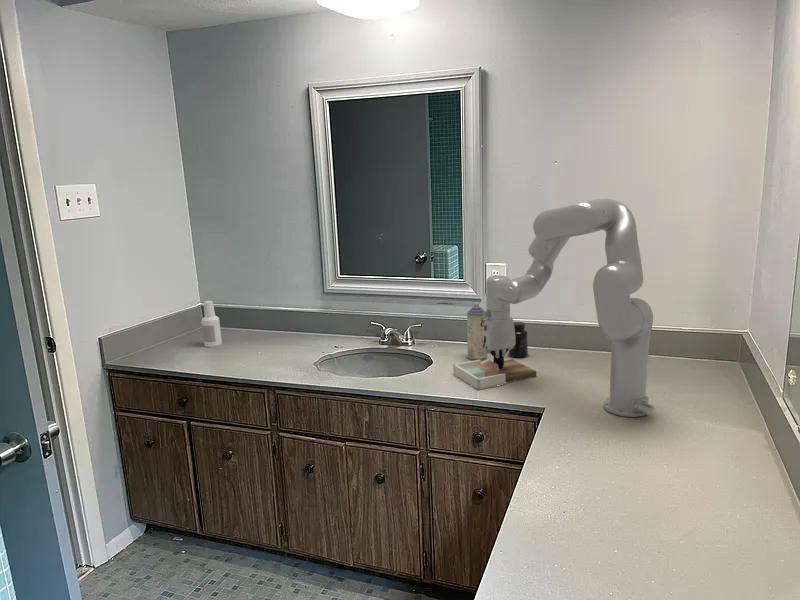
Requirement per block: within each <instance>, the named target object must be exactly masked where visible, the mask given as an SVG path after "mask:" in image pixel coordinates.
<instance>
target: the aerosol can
mask: <svg viewBox="0 0 800 600" xmlns="http://www.w3.org/2000/svg"><path fill="white" fill-rule="evenodd" d="M473 304H474V305H473V306H472V308H470V310H469V311H467V313H466V326H467V327H466V331H467V332H466V334H467V338H466V339H467V340H466V341H467V359H468V360H469V361H475V360H481V361H486V360H487V359H488V357H487V356H488V354H486V353H484V352H483V351H484V347H483V328H484V322H485V319H486V318H487V317H484V315H483V313H485V312H486V310H484V309H483V308H482V307H481V306H480V303H478V302H477V303H473Z"/></svg>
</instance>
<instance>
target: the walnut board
mask: <svg viewBox="0 0 800 600" xmlns="http://www.w3.org/2000/svg"><path fill="white" fill-rule="evenodd" d="M499 371H500V372H499V373H498V374H503V373H505V382H508V383H511V382H510V381H513V382H515V381H514V380H518V381H521V380H520V379H523V380H526V379H525V378H528V379H531V378H530V377H532V378H536V377H537V371H536V370H534V369H532V368H531V367H529V366H527V365H525V364H523V363H521V362H519V361H517V360H515V359H514V358H512V359H507V360H504V365H503V369H500V370H499ZM498 374H496V375H498Z"/></svg>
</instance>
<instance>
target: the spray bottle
mask: <svg viewBox="0 0 800 600" xmlns="http://www.w3.org/2000/svg"><path fill="white" fill-rule="evenodd" d="M203 311H204V313H203V314H204V317H202V319H201V328H202V337H203V345H204V347H207V348H214V347H215V348H216V347H219V346H221V345H222V343H223V342H222V341H223V340H222V332H221V324H220V323H221V321H220V317H219V316H217V315H216V313H215V312H216V311H215V305H214V303H213V301H212V300H206V301H204V302H203Z"/></svg>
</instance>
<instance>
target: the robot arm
mask: <svg viewBox="0 0 800 600" xmlns="http://www.w3.org/2000/svg"><path fill="white" fill-rule="evenodd" d="M636 223H637V222H636V219H635V217H634V214H633V213H632V210H631V209H630V208H629V207H628V206H627V205H626V204H624V203H623V202H620V201H619V200H616V199H611V198H598V199H592V200H586V201H582V202H577V203H573V204H570V205H565V206H561V207H558V208H551V209H547V210H543V211H541V212H540V213H539V214H538V215H537V216H536V217H535V219H534V220H533V224H532V225H533V226H532V227H533V228H532V230H533V233H534V235H535V237H534V239H533V240H532V242H531V244H529V247H528V254H529V256H530V257H531V258H532V259H533V261H532V262H531V265H530V266H529V268H528V270H527V271H526V273H525V274H524V275H521V276H520V277H516V278H513V279H510V278H509V277H508V276H506V275H500V274H499V275H491V276H489V277H487V279H486V280H485V281H486V282H485V286H486V288H485V289H486V292H485V293H486V295H485V296H486V298H485V299H486V300H485V301H486V309H485V311H486V312H485V313H483V315H484V317H487V318H486V319H485V322H484V328H483V347H484V351H483V352H484V353H486V354H487V355H488V354H489V355H491V356H492V357H493V362H494V363H496V364H498V367H499V370H500V369H503V365H504V361H505V357H506V355H507V353H509V350H511V349H513V348H514V346H515V342H516V341H515V328H514V322H515V321H514V319H513V317H512V316H511V304H512V305H517V304H520V303H522V302H523V303H524V302H525V301H528V300H531V299H533V298H536V297H537V296H538V295H539V294H540V293H541V292H542V290H543V289H544V288H545V286H547V285H546V284H547V283H548V282H549V280H550V279H551V276H552V274H553V270H554V263H555V262H556V259H557V257H558V256H559V255H560V254H561V252H562V250H563V249H564V247H565V245H566V244H567V243H568V241H569V239H570V238H572V237H577V236H583V235H588V234H592V233H596V232H599V231H604V232H605V240H604V249H605V251H604V252H605V255H606V264H605V265H603V266H602V267H600V268H599V269H598V270H597V271H596V273H595V275H594V278H593V281H592V282H593V283H592V288H593V289H592V290H593V296H594V297H593V298H594V299H593V300H594V304H595V305H594V306H595V311H596V317H597V323H598V326H599V330H600V332H601V333H602V335H603V336H605V338H607V340H610V341H612V343H611V352H610V353H611V354H610V355H611V357H610V376H609V380H610V381H609V397H608V398H607V397H606V398H605V400H603V408H604V410H606V412H609V413H611V414H613V415H616V416H620V417H627V418H639V417H645V416H649V415H651V413H652V411H654V410H655V408H656V407H655V405H653V404H650V403H649V396H647V380H648V379H647V378H648V363H649V349H650V340H651V334H652V329H653V324H654V313H653V310H652V308H651V306H650V304H649V303H647V301H645V300H643V299H642V298H639V297H638V298H637V297H631V295H632V294H634V293H636V292H637V291H639V290H640V289H641V287H642V286H643V283H644V272H643V267H642V265H643V264H642V259H641V253H640V246H639V240H638V231H637V224H636Z"/></svg>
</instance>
